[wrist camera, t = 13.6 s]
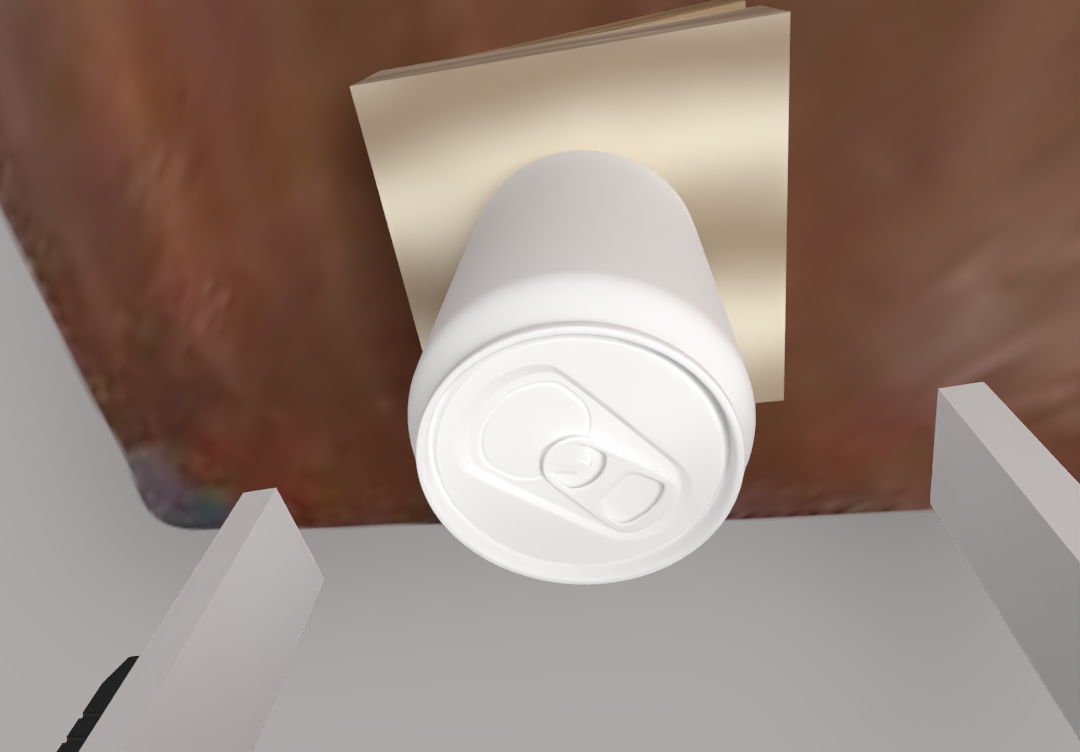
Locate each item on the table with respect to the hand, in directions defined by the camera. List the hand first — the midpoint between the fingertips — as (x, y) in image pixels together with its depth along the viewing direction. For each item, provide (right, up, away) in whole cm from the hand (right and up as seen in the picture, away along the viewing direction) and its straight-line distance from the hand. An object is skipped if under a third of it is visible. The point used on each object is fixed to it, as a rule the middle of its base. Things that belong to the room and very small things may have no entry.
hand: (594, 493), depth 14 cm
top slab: (+1, +9, +15) cm, 17 cm away
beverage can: (+1, +7, +11) cm, 13 cm away
